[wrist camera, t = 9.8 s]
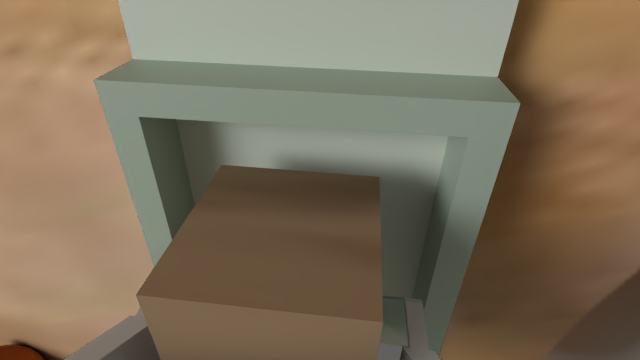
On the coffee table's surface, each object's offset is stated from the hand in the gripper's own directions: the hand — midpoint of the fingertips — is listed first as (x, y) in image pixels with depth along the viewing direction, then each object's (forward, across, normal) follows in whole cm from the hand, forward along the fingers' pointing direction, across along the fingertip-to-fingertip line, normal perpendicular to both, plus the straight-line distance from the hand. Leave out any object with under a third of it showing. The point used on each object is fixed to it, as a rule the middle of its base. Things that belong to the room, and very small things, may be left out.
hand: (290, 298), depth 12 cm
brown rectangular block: (+2, 0, 0) cm, 2 cm away
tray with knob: (+5, 0, +4) cm, 6 cm away
